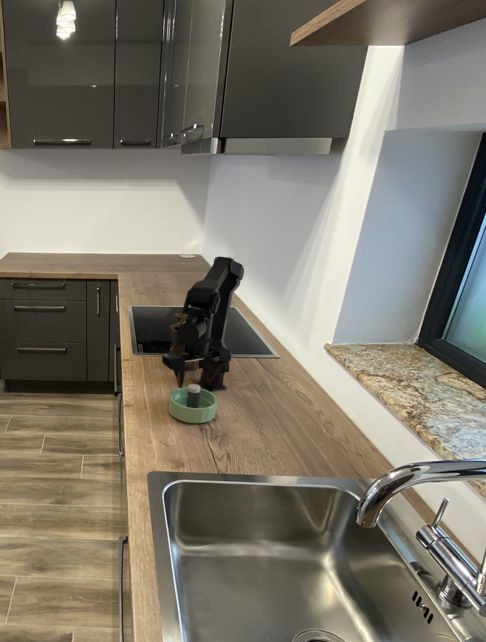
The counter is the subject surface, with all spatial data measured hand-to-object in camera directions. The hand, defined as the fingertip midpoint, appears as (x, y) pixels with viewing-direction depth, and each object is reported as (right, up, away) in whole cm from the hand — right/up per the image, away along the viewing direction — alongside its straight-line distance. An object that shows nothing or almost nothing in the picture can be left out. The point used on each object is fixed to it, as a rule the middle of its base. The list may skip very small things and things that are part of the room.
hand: (194, 385), depth 125 cm
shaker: (0, -8, +3) cm, 8 cm away
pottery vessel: (+4, +6, +35) cm, 36 cm away
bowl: (0, -8, +4) cm, 9 cm away
